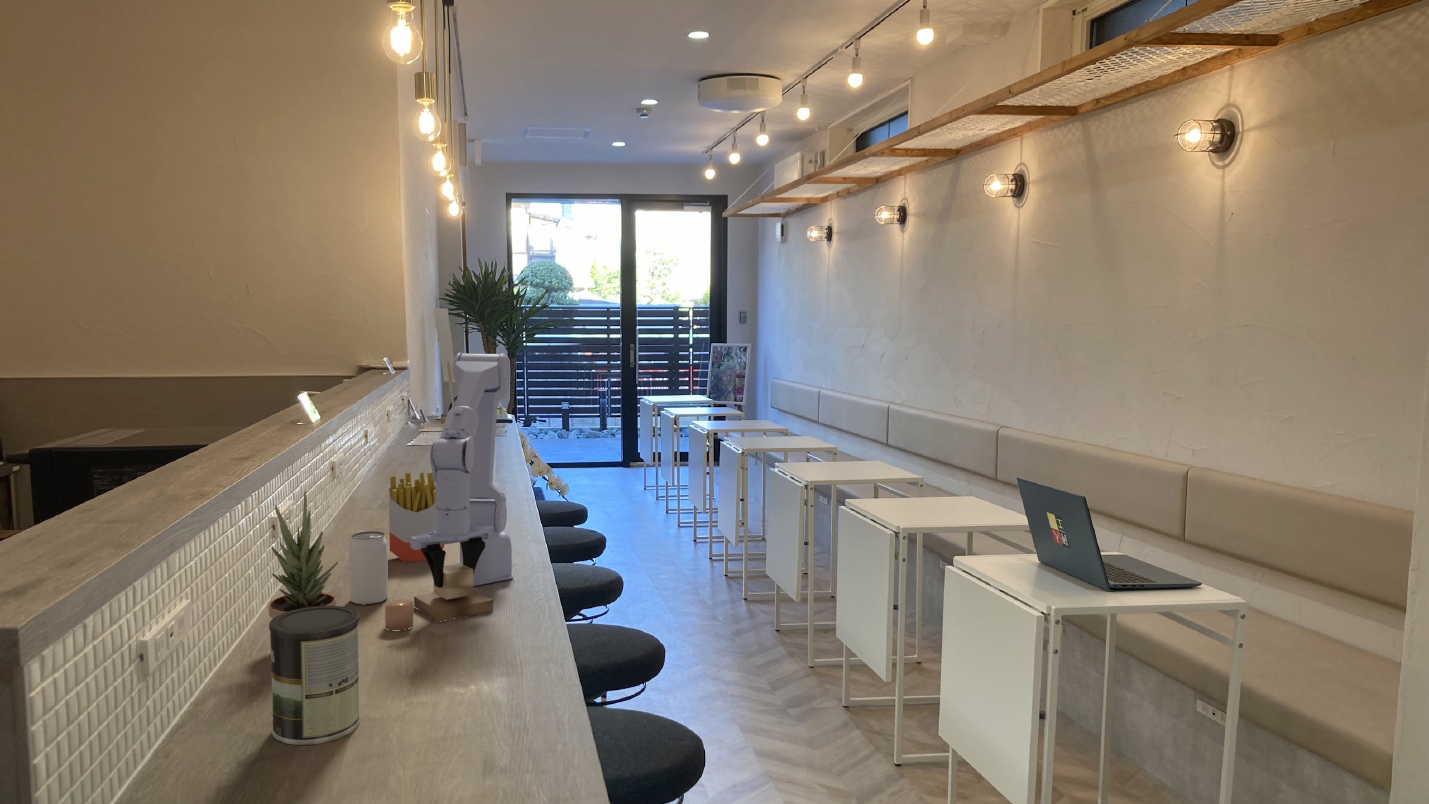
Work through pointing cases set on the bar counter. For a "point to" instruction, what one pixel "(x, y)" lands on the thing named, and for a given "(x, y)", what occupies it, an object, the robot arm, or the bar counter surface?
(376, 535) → the can
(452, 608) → the board
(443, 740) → the bar counter surface
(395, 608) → the brown rounded piece
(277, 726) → the coffee can
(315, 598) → the potted plant
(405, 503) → the french fries container
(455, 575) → the block
